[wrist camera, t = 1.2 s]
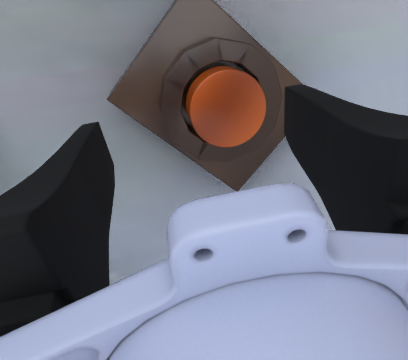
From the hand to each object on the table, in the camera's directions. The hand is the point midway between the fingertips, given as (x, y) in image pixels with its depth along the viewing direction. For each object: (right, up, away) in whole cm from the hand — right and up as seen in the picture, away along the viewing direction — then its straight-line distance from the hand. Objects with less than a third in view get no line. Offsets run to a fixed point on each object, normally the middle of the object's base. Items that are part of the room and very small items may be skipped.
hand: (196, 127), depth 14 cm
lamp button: (+1, +3, +8) cm, 9 cm away
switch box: (+1, +4, +11) cm, 12 cm away
